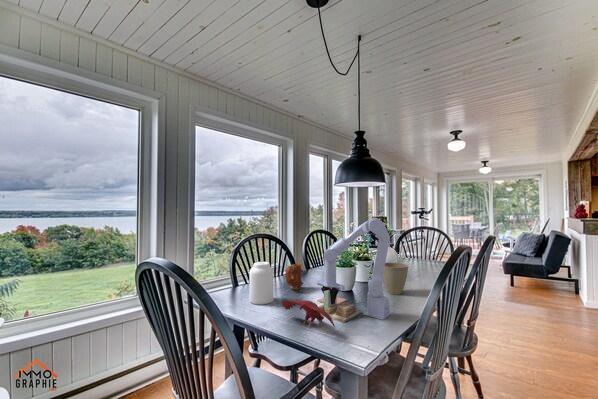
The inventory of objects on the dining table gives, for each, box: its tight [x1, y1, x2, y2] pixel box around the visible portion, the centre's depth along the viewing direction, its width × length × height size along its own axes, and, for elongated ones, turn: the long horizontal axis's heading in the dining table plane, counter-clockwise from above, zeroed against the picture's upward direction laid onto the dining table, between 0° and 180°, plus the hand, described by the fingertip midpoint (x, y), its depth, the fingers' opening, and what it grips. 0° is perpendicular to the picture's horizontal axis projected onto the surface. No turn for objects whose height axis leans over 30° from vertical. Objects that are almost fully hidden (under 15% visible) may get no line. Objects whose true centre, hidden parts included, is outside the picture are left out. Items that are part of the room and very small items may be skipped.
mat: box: [316, 296, 348, 304], centre depth 154 cm, size 11×11×1 cm
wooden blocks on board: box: [318, 303, 361, 323], centre depth 136 cm, size 16×14×3 cm
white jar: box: [249, 261, 275, 305], centre depth 154 cm, size 12×12×20 cm
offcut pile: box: [336, 302, 357, 318], centre depth 133 cm, size 5×9×3 cm, turn 139°
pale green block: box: [323, 288, 338, 311], centre depth 139 cm, size 2×7×9 cm, turn 139°
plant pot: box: [383, 262, 409, 296], centre depth 168 cm, size 15×15×16 cm
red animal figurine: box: [282, 299, 336, 328], centre depth 123 cm, size 28×9×15 cm
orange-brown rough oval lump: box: [285, 263, 304, 290], centre depth 175 cm, size 15×8×15 cm, turn 149°
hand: (330, 303), depth 139 cm, fingers closed on pale green block, 2 cm apart
